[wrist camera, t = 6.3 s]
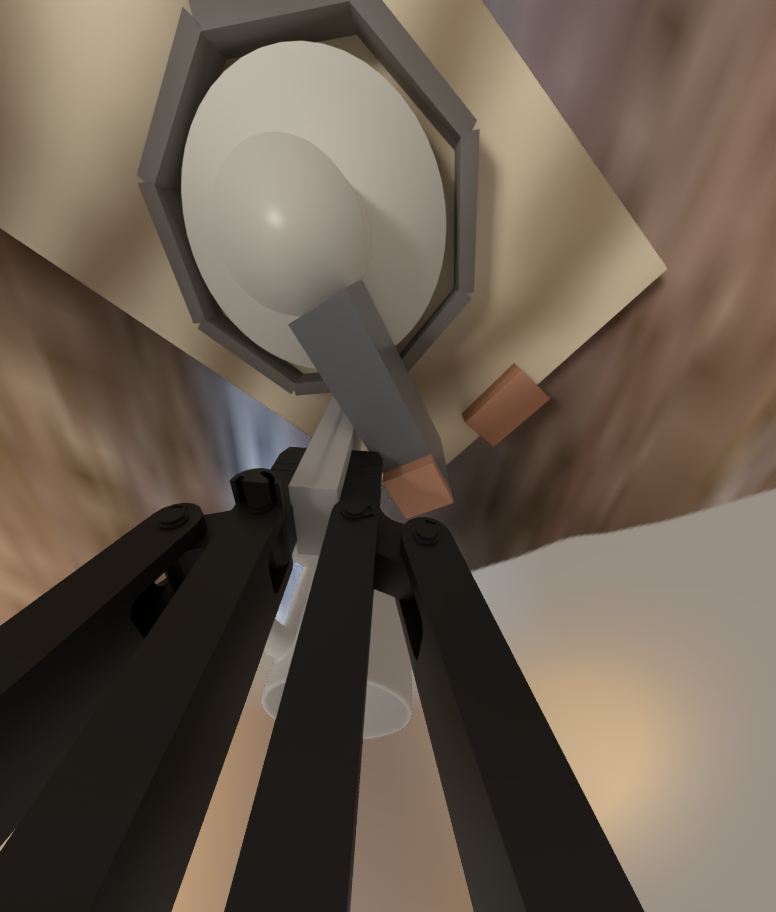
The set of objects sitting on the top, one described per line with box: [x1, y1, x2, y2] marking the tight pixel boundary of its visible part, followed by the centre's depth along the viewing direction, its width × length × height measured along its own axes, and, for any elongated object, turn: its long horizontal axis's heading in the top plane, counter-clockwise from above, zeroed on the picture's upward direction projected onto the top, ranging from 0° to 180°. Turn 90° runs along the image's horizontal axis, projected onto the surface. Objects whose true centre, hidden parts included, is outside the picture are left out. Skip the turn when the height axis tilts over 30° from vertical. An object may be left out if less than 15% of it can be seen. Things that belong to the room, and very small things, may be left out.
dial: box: [181, 41, 454, 519], centre depth 12 cm, size 15×10×7 cm, turn 28°
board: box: [0, 0, 667, 485], centre depth 13 cm, size 24×17×3 cm
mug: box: [261, 545, 412, 739], centre depth 21 cm, size 12×8×10 cm
